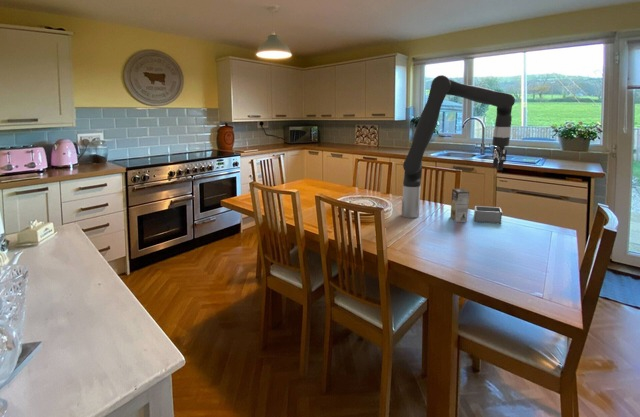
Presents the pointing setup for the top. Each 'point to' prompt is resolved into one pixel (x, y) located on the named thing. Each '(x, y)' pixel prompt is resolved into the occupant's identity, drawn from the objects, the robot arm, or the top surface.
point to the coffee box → (459, 205)
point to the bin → (487, 214)
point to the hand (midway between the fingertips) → (497, 168)
